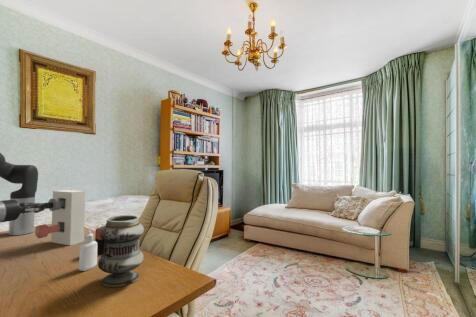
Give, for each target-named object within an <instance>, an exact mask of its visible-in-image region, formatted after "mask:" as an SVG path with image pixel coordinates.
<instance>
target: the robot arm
mask: <svg viewBox="0 0 476 317" xmlns="http://www.w3.org/2000/svg"><path fill="white" fill-rule="evenodd" d="M0 178H1V179H3V180H5V181H7V182H9V183H11V184H15V185H18V184H19V185H20V184H21V187H20V188H19V189H17V190H14V191H11V192H10V193H9V195H10V196H9V198H10V199H5V200H0V224H1V223H6V222H8V235H9V236H21V235H26V234H31V233H33V232H35V214H38V213H40V212H44V211H45V210H46V209H49V208H53V203H52V202H49V201H47V202H36V193H37V190H38V183H39V182H38V180H39V170H38V168H37V166H35V165H32V164H13V163H10V162H8V161H7V160H6V158H5V156H4V155H3V154H2V153H1V152H0Z"/></svg>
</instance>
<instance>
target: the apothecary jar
mask: <svg viewBox="0 0 476 317" xmlns="http://www.w3.org/2000/svg"><path fill="white" fill-rule="evenodd" d="M144 231H145V228H144V226H143V224H141V223H140V220H139V217H138V216H137V215H133V214H124V215H123V214H122V215H115V216H110V217H108V218H107V219H106V223H105V225H104V227H103V228H102V229H101V230H100V237H101V238H102V239H103V240H104V252H103V254H101V255H100V257H99V259H98V260H97V266H98V269H99V270H101V271H102V272H104V273H107V275H106V276H104V277H103V279H101V284H102V286H104V287H108V288H119V287H125V286H127V285H129V284H132V283H133V284H134V283H135V282H136V281H138V279H139V278H140V274H139V273H138V272H137V271H136V272H135V271H133V270H136V268H138V267H139V266H140V265H141V264H142V263H143V262H144V261H143V260H144V257H145V256H144V253H143V252H142V251H141V249H140V237H141V236H142V235H143V234H144Z"/></svg>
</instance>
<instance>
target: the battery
mask: <svg viewBox="0 0 476 317" xmlns="http://www.w3.org/2000/svg"><path fill="white" fill-rule="evenodd" d="M104 226H105V225H104ZM104 226H103V225H102V226H99V228H95V231H94V232H95V235H94V236H95V238H94V241H96V242H97V255H99V256H102V255H103V252H104V240H103V239H102V238H101V237H100V230H101V229H102V228H103V227H104Z"/></svg>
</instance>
